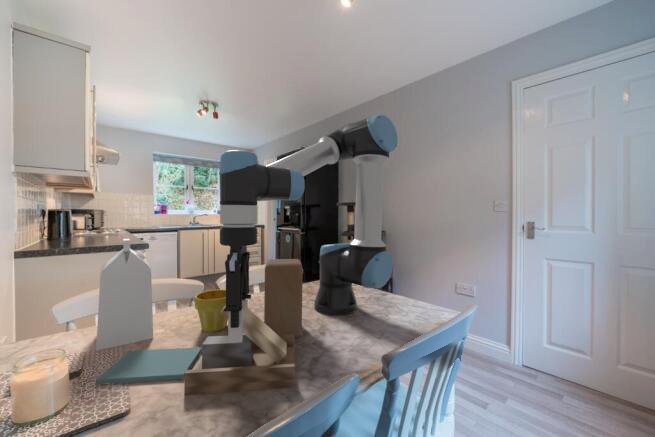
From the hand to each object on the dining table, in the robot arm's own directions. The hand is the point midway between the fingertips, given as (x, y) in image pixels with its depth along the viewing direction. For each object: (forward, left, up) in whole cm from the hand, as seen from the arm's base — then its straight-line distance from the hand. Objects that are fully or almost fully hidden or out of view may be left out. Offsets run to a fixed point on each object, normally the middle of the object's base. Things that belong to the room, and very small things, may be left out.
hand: (238, 335), depth 57 cm
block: (-9, -18, -8) cm, 21 cm away
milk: (+33, -20, -8) cm, 39 cm away
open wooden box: (-2, 0, -7) cm, 8 cm away
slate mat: (+18, -3, -7) cm, 20 cm away
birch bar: (-3, 0, 0) cm, 3 cm away
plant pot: (+11, -23, -8) cm, 27 cm away
